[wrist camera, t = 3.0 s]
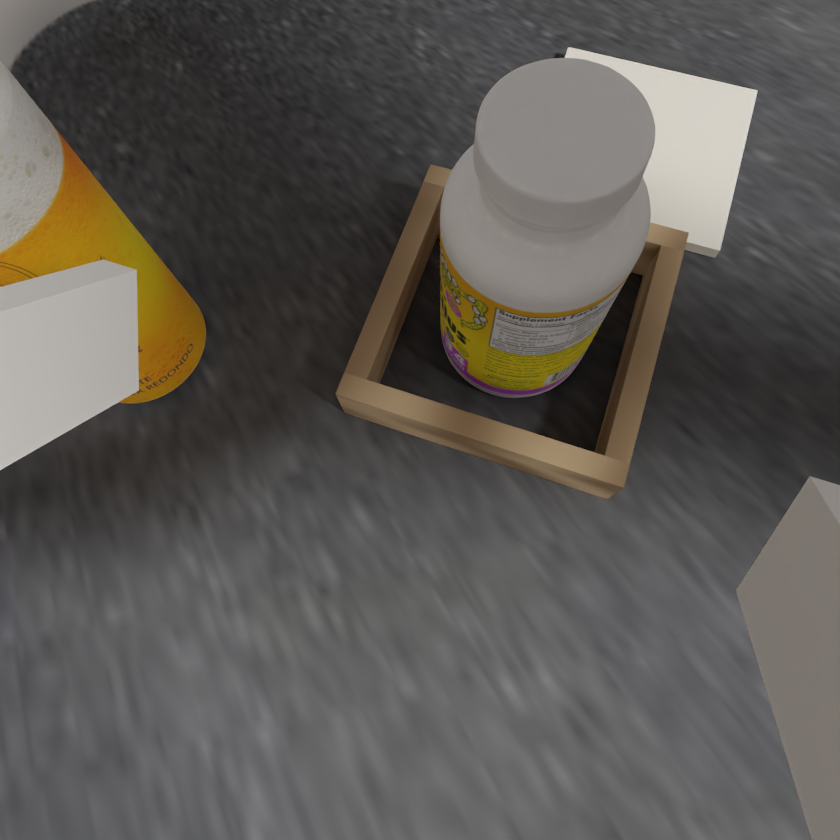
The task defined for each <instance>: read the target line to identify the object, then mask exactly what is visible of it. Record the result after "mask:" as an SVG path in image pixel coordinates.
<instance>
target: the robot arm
mask: <svg viewBox="0 0 840 840" xmlns="http://www.w3.org/2000/svg"><path fill="white" fill-rule="evenodd" d="M137 391H139V368H138V313H137V270H136V269H132V268H129V267H126V266H123V265H119V264H116V263H113V262H110V261H106V260H100V261H96V262H92V263H88V264H85V265H81V266H77V267H73V268H70V269H66V270H62V271H58V272H55V273H51V274H47V275H43V276H40V277H36V278H32V279H29V280H25V281H21V282H17V283H14V284H10V285H6V286H2V287H0V470H1V469H3V468H5V467H7V466H8V465H10V464H12V463H14V462H15V461H17V460H19V459H21V458H22V457H24V456H26V455H27V454H29V453H31V452H33V451H34V450H36V449H38V448H40V447H41V446H43V445H45V444H47V443H48V442H50V441H52V440H54V439H55V438H57V437H59V436H61V435H62V434H64V433H66V432H67V431H69V430H71V429H73V428H74V427H76V426H78V425H80V424H81V423H83V422H85V421H87V420H88V419H90V418H92V417H94V416H95V415H97V414H99V413H100V412H102V411H104V410H106V409H107V408H109V407H111V406H113V405H114V404H116V403H118V402H120V401H121V400H123V399H125V398H127V397H128V396H130V395H132V394H133V393H135V392H137ZM736 593H737V596H738V599H739V603H740V606H741V609H742V613H743V616H744V619H745V622H746V626H747V629H748V632H749V635H750V639H751V642H752V645H753V649H754V652H755V655H756V658H757V662H758V665H759V668H760V671H761V675H762V678H763V681H764V685H765V688H766V691H767V694H768V698H769V701H770V704H771V708H772V711H773V714H774V717H775V721H776V724H777V727H778V730H779V734H780V737H781V740H782V744H783V747H784V750H785V753H786V757H787V760H788V763H789V766H790V770H791V773H792V776H793V780H794V783H795V786H796V789H797V793H798V796H799V799H800V802H801V806H802V809H803V812H804V816H805V819H806V822H807V825H808V829H809V832H810V835H811V838H812V840H840V485H837V484H834V483H831V482H828V481H824V480H821V479H818V478H814V477H811V476H809V478H808V479H807V481H806V483H805V484H804V486H803V487H802V489H801V490H800V492H799V493H798V495H797V497H796V498H795V500H794V501H793V503H792V504H791V506H790V507H789V509H788V510H787V512H786V514H785V515H784V517H783V518H782V520H781V521H780V523H779V524H778V526H777V528H776V529H775V531H774V532H773V534H772V535H771V537H770V538H769V540H768V542H767V543H766V545H765V546H764V548H763V549H762V551H761V552H760V554H759V555H758V557H757V559H756V560H755V562H754V563H753V565H752V566H751V568H750V569H749V571H748V573H747V574H746V576H745V577H744V579H743V580H742V582H741V583H740V585H739V587H738V588H737V590H736Z"/></svg>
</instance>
